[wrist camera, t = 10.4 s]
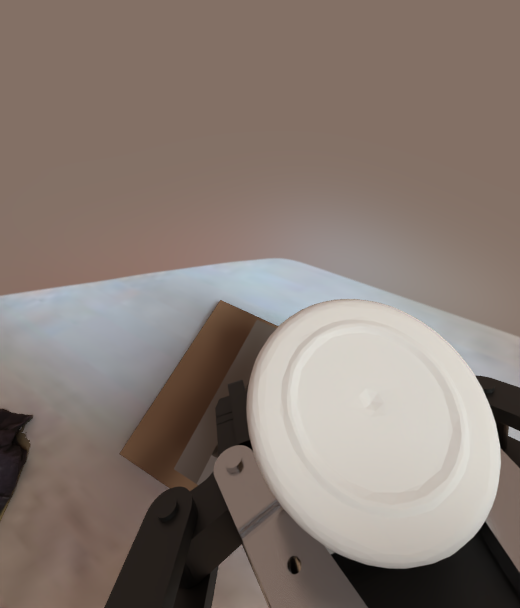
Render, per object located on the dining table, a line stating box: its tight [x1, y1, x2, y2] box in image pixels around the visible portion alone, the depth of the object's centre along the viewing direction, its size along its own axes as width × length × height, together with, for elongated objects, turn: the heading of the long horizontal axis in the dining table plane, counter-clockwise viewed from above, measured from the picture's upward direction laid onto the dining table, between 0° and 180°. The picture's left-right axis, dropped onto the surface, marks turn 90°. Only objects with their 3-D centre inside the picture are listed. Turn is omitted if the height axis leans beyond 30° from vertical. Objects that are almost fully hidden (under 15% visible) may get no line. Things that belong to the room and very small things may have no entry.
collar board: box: [120, 300, 335, 555], centre depth 17 cm, size 20×14×6 cm
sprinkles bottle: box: [246, 299, 501, 569], centre depth 10 cm, size 5×5×13 cm
